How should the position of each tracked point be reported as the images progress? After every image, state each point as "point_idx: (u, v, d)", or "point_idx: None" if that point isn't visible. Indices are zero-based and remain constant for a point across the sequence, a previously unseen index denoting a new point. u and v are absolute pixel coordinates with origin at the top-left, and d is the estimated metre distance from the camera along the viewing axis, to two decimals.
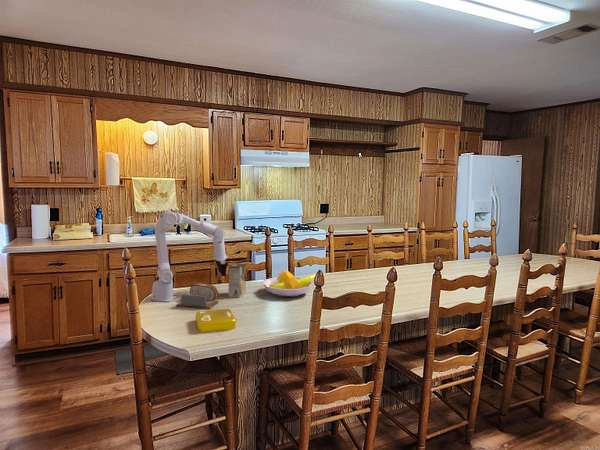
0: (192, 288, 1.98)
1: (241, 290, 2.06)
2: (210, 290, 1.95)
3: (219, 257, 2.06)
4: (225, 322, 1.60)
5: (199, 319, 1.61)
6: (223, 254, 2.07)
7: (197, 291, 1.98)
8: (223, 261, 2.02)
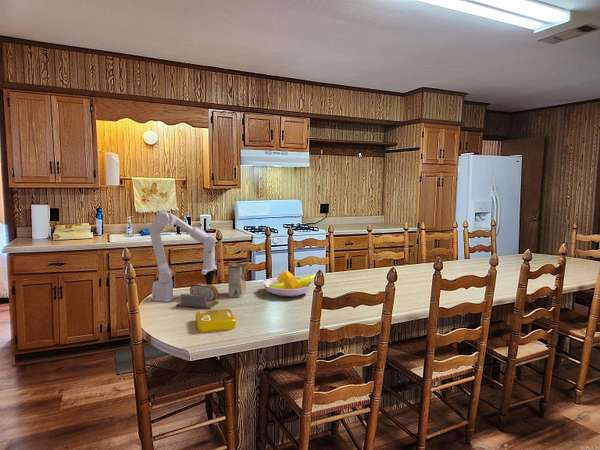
0: (192, 288, 1.98)
1: (241, 290, 2.06)
2: (210, 290, 1.95)
3: (205, 267, 2.01)
4: (225, 322, 1.60)
5: (199, 319, 1.61)
6: (210, 265, 2.00)
7: (197, 291, 1.98)
8: (204, 272, 1.96)
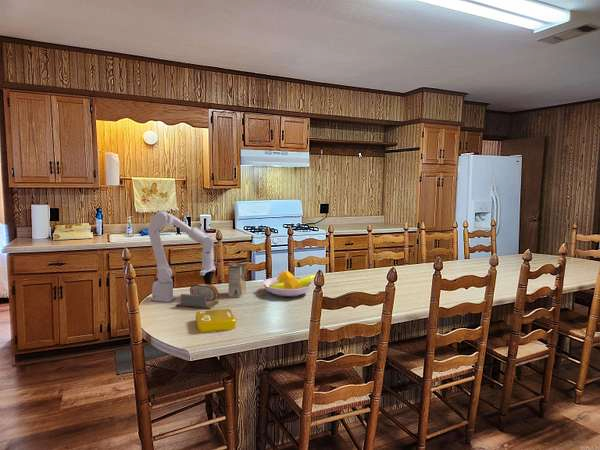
0: (192, 288, 1.98)
1: (241, 290, 2.06)
2: (210, 290, 1.95)
3: (204, 268, 1.99)
4: (225, 322, 1.60)
5: (199, 319, 1.61)
6: (208, 266, 1.99)
7: (197, 291, 1.98)
8: (202, 273, 1.95)
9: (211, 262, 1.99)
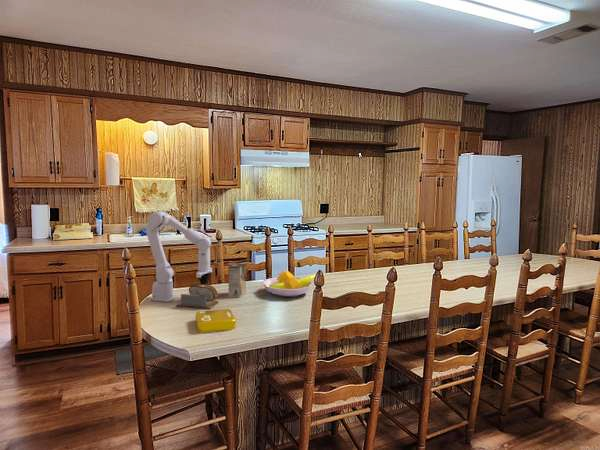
0: (191, 289, 1.97)
1: (241, 290, 2.06)
2: (209, 290, 1.94)
3: (200, 270, 1.95)
4: (225, 322, 1.60)
5: (199, 319, 1.61)
6: (205, 268, 1.95)
7: (196, 292, 1.97)
8: (198, 275, 1.90)
9: (208, 264, 1.95)
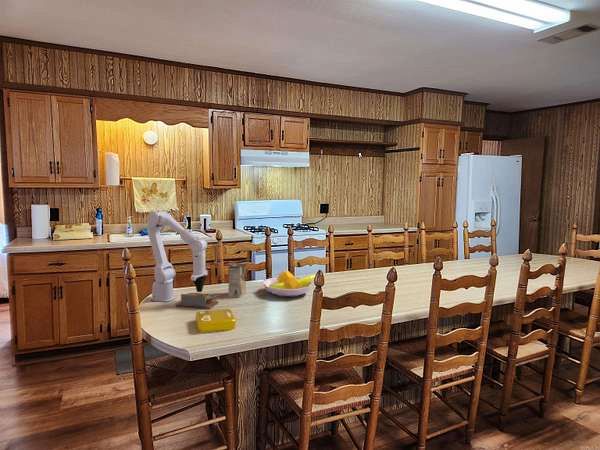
0: None
1: (241, 290, 2.06)
2: None
3: (195, 272, 1.89)
4: (225, 322, 1.60)
5: (199, 319, 1.61)
6: (200, 270, 1.89)
7: None
8: (193, 278, 1.85)
9: (203, 266, 1.90)
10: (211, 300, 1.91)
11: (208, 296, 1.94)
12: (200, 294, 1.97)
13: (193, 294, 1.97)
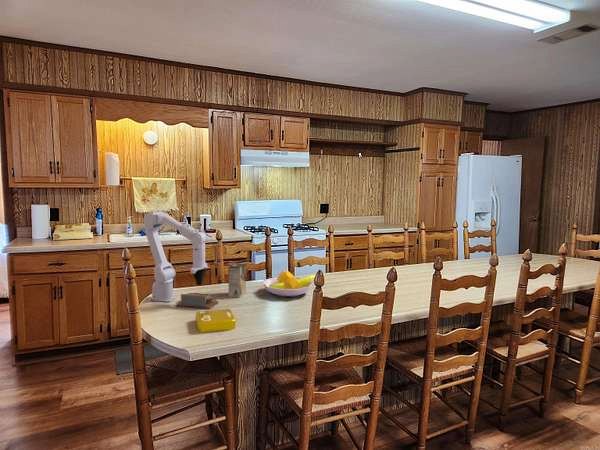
0: None
1: (241, 290, 2.06)
2: None
3: (195, 265, 1.89)
4: (225, 322, 1.60)
5: (199, 319, 1.61)
6: (199, 263, 1.88)
7: None
8: (193, 270, 1.84)
9: (202, 259, 1.89)
10: (211, 300, 1.91)
11: (208, 296, 1.94)
12: (200, 294, 1.97)
13: (193, 294, 1.97)
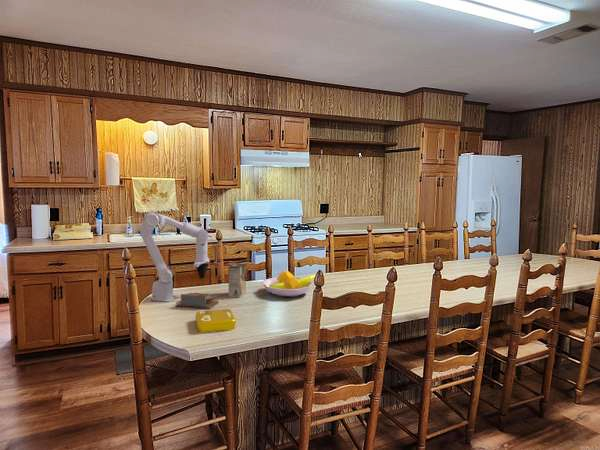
0: None
1: (241, 290, 2.06)
2: None
3: (198, 260, 2.01)
4: (225, 322, 1.60)
5: (199, 319, 1.61)
6: (202, 258, 2.01)
7: None
8: (196, 264, 1.96)
9: (205, 254, 2.01)
10: (211, 300, 1.91)
11: (208, 296, 1.94)
12: (200, 294, 1.97)
13: (193, 294, 1.97)
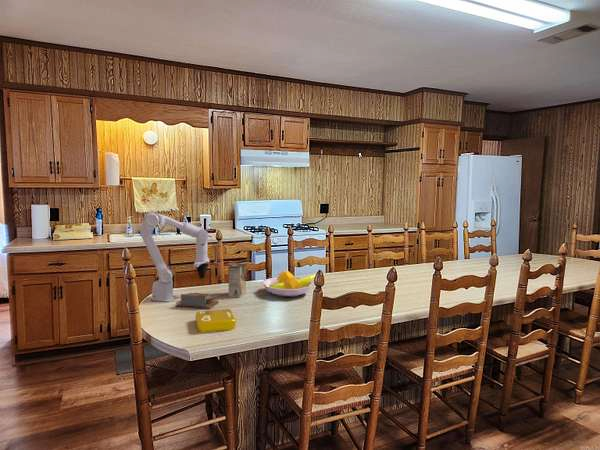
0: None
1: (241, 290, 2.06)
2: None
3: (198, 260, 2.01)
4: (225, 322, 1.60)
5: (199, 319, 1.61)
6: (202, 258, 2.01)
7: None
8: (196, 264, 1.96)
9: (205, 254, 2.01)
10: (211, 300, 1.91)
11: (208, 296, 1.94)
12: (200, 294, 1.97)
13: (193, 294, 1.97)
